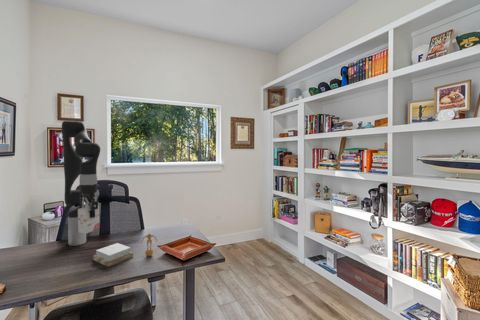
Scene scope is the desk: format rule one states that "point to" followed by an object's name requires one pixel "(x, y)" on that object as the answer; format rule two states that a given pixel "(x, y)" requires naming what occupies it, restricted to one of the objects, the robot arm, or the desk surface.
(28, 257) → the desk surface
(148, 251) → the figurine
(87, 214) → the ink cartridge box
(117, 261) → the birch base slab
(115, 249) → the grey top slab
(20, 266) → the desk surface
